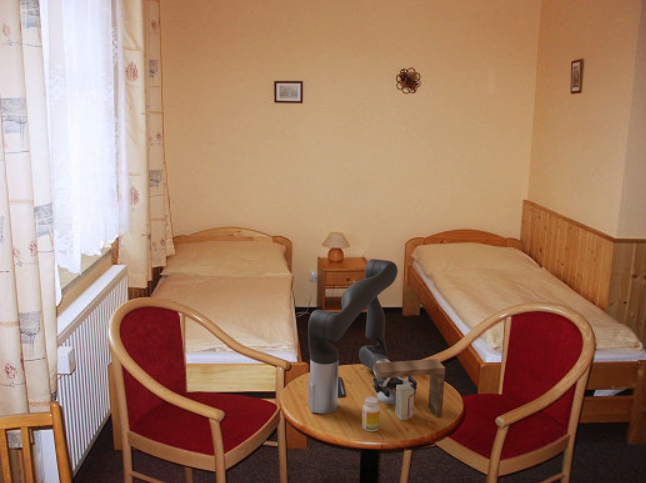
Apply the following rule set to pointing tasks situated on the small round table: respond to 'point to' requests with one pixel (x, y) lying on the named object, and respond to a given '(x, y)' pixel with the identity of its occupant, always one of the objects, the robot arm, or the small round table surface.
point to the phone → (340, 388)
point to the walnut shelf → (416, 369)
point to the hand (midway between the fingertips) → (401, 393)
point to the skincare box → (404, 401)
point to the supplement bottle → (370, 414)
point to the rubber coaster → (386, 400)
